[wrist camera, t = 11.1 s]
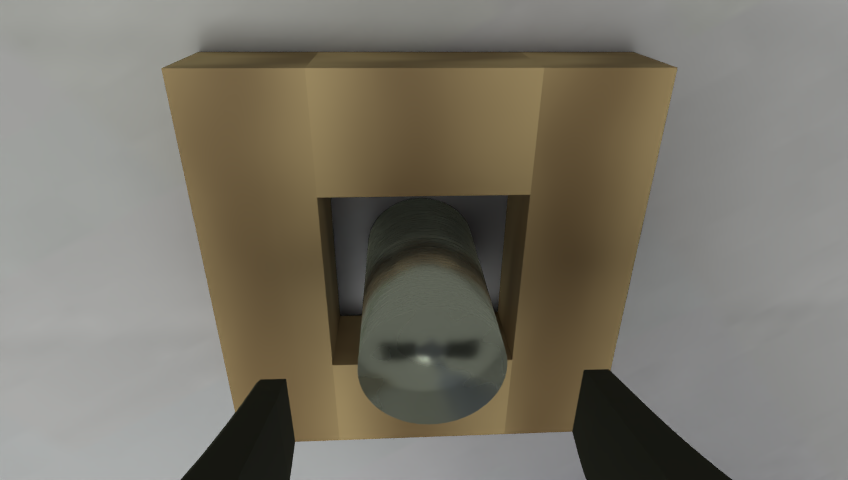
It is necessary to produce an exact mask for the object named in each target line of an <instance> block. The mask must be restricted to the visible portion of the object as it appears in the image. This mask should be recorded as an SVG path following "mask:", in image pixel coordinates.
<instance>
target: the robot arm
mask: <svg viewBox="0 0 848 480" xmlns="http://www.w3.org/2000/svg"><path fill="white" fill-rule="evenodd" d="M572 432H573V435H574V439H575V443H576V447H577V451H578V455H579V458H580V462H581V465H582V468H583V472H584V474H585V477H586V479H587V480H732V479H731V478H729V477H728V476H727V475H725V474H724V473H723V472H722V471H720V470H719V469H718V468H716V467H715V466H714V465H713V464H712V463H710V462H709V461H708V460H707V459H706V458H704V457H703V456H702V455H701V454H700V453H698V452H697V451H696V450H695V449H693V448H692V447H691V446H690V445H689V444H688V443H687V442H685V441H684V440H683V439H682V438H681V437H680V436H679V435H677V434H676V433H675V432H674V431H673V430H672V429H671V428H670V427H669V426H667V425H666V424H665V423H664V422H663V421H662V420H661V419H660V418H659V417H658V416H657V415H656V414H654V413H653V412H652V411H651V410H650V409H649V408H648V407H647V406H646V405H645V404H644V403H643V402H642V401H641V400H640V399H639V398H638V397H637V396H636V395H635V394H634V393H633V392H632V391H631V390H629V389H628V388H627V387H626V386H625V385H624V384H623V383H622V382H621V381H620V380H619V379H618V378H617V377H616V376H615V375H614V374H613V373H612V372H611V371H610V370H609V369H595V370H584V371H583V376H582V382H581V387H580V392H579V397H578V403H577V408H576V413H575V419H574V424H573V429H572ZM294 445H295V436H294V430H293V423H292V416H291V409H290V402H289V396H288V389H287V382H286V379H260V380H259V381H258V382H257V383H256V384H255V386H254V387H253V388H252V390H251V391H250V393H249V394H248V396H247V397H246V398H245V400H244V401H243V403H242V404H241V405H240V407H239V408H238V410H237V411H236V412H235V414H234V415H233V416H232V418H231V419H230V420H229V422H228V423H227V424H226V426H225V427H224V428H223V429H222V431H221V432H220V433H219V434H218V436H217V437H216V438H215V440H214V441H213V442H212V443H211V445H210V446H209V447H208V448H207V450H206V451H205V452H204V453H203V455H202V456H201V457H200V458H199V459H198V460H197V462H196V463H195V464H194V465H193V466H192V467H191V468H190V470H189V471H188V472H187V473H186V474H185V475H184V476H183V478H182V479H181V480H290V474H291V467H292V460H293V453H294Z"/></svg>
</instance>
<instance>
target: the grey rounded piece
mask: <svg viewBox="0 0 848 480" xmlns="http://www.w3.org/2000/svg"><path fill="white" fill-rule="evenodd" d="M357 370H358V379H359V383H360V385H361V388H362V390H363V392H364V393H365V395H366V397H367V398H368V399H369V400H370V401H371V403H372V404H373V405H375V406H376V407H377V408H378V409H379V410H381V411H382V412H384V413H385V414H387V415H389V416H391V417H393V418H396V419H399V420H402V421H405V422H409V423H416V424H441V423H447V422H452V421H456V420H459V419H461V418H464V417H466V416H469V415H471V414H473V413H474V412H476V411H478V410H479V409H481V408H482V407H483V406H485V405H486V404H487V403H488V402H489V401H490V400H491V399H492V398H493V397H494V396H495V395H496V394H497V392H498V391H499V389H500V388H501V386H502V384H503V381H504V379H505V376H506V372H507V354H506V350H505V347H504V343H503V340H502V336H501V333H500V330H499V326H498V323H497V320H496V316H495V313H494V309H493V306H492V303H491V299H490V296H489V292H488V289H487V286H486V282H485V279H484V275H483V272H482V269H481V265H480V262H479V259H478V255H477V252H476V248H475V245H474V242H473V238H472V235H471V231H470V229H469V226H468V224H467V222H466V221H465V219H464V218H463V217H462V215H461V214H460V213H459V212H458V211H457V210H455V209H454V208H453V207H451V206H450V205H448V204H446V203H444V202H441V201H438V200H434V199H428V198H415V199H409V200H405V201H402V202H399V203H397V204H395V205H393V206H391V207H390V208H388V209H387V210H386V211H384V212H383V213H382V214H381V215H380V216H379V218H378V219H377V220H376V222H375V223H374V225H373V227H372V229H371V232H370V235H369V241H368V252H367V263H366V275H365V287H364V298H363V310H362V321H361V333H360V344H359V356H358V368H357Z"/></svg>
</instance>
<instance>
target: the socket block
mask: <svg viewBox="0 0 848 480" xmlns="http://www.w3.org/2000/svg"><path fill="white" fill-rule="evenodd" d="M676 72H677V67H674V66H671V65H668V64H665V63H663V62H660V61H657V60H654V59H651V58H649V57H646V56H643V55H640V54H637V53H635V52H197V53H195V54H193V55H191V56H188V57H186V58H184V59H182V60H179V61H177V62H175V63H172V64H170V65H168V66H166V67H163V68H162V73H163V78H164V82H165V87H166V92H167V96H168V101H169V106H170V110H171V115H172V120H173V124H174V129H175V134H176V138H177V143H178V148H179V152H180V157H181V162H182V166H183V171H184V176H185V180H186V185H187V190H188V194H189V199H190V204H191V208H192V213H193V217H194V222H195V227H196V231H197V236H198V241H199V245H200V250H201V255H202V259H203V264H204V269H205V273H206V278H207V283H208V287H209V292H210V297H211V301H212V306H213V311H214V315H215V320H216V325H217V329H218V334H219V339H220V343H221V348H222V353H223V357H224V362H225V367H226V371H227V376H228V381H229V385H230V390H231V394H232V399H233V404H234V408H235V412H236V411H237V410H238V408H239V407H240V405H241V404H242V403H243V401H244V400H245V398H246V397H247V396H248V394H249V393H250V391H251V390H252V388H253V387H254V386H255V384H256V383H257V382H258V381H259V380H260V379H286V382H287V389H288V396H289V402H290V409H291V416H292V423H293V430H294V436H295V442H299V441H326V440H353V439H380V438H408V437H435V436H462V435H489V434H516V433H543V432H571V431H572V429H573V424H574V419H575V413H576V408H577V403H578V397H579V392H580V387H581V382H582V376H583V371H584V370H595V369H609V370H611V365H612V361H613V356H614V352H615V347H616V343H617V338H618V334H619V329H620V325H621V320H622V316H623V311H624V307H625V302H626V298H627V293H628V289H629V284H630V279H631V275H632V270H633V266H634V261H635V257H636V252H637V248H638V243H639V239H640V234H641V230H642V225H643V221H644V216H645V212H646V207H647V203H648V198H649V194H650V189H651V185H652V180H653V176H654V171H655V167H656V162H657V158H658V153H659V149H660V144H661V140H662V135H663V131H664V126H665V121H666V117H667V112H668V108H669V103H670V99H671V94H672V90H673V85H674V81H675V76H676ZM469 195H508V201H507V212H506V224H505V235H504V247H503V258H502V269H501V281H500V292H499V304H498V312H494V313H495V316H496V320H497V323H498V326H499V330H500V333H501V336H502V340H503V343H504V347H505V350H506V354H507V372H506V376H505V379H504V381H503V384H502V386H501V388H500V389H499V391H498V392H497V394H496V395H495V396H494V397H493V398H492V399H491V400H490V401H489V402H488V403H487V404H486V405H485V406H483V407H482V408H481V409H479V410H478V411H476V412H474V413H473V414H471V415H469V416H466V417H464V418H461V419H459V420H456V421H452V422H447V423H441V424H416V423H409V422H405V421H402V420H399V419H396V418H393V417H391V416H389V415H387V414H385V413H384V412H382V411H381V410H379V409H378V408H377V407H376V406H375V405H373V404H372V403H371V401H370V400H369V399H368V398H367V397H366V395H365V393H364V392H363V390H362V388H361V385H360V383H359V379H358V370H357V368H358V356H359V344H360V333H361V321H362V316H340V310H339V298H338V285H337V273H336V261H335V248H334V236H333V223H332V211H331V198H330V197H395V196H469Z"/></svg>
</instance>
